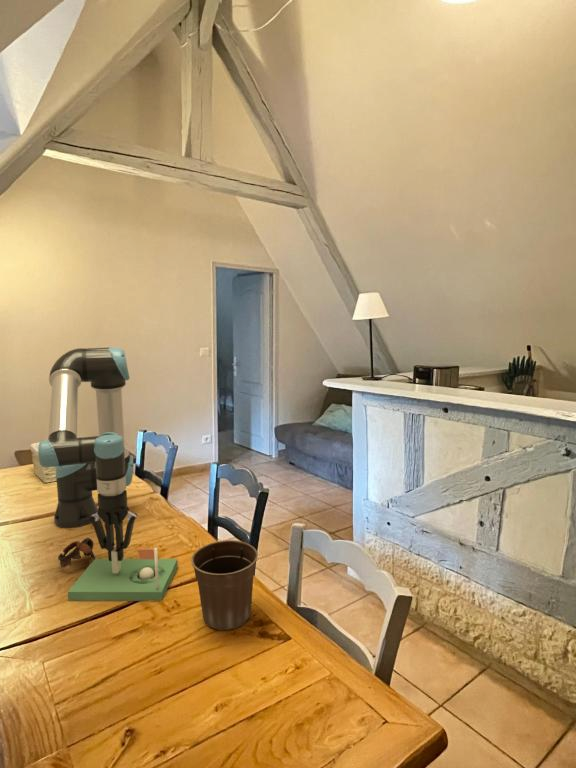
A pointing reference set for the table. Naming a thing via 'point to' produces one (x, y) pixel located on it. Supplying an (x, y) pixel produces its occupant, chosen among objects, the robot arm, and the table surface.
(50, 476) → the storage basket
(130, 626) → the table surface
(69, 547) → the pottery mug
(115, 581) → the green
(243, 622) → the plant pot
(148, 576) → the ball
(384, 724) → the table surface
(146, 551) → the flag pin
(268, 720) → the table surface
